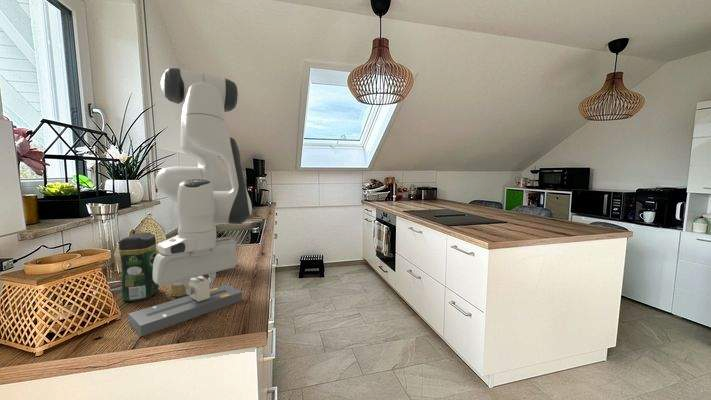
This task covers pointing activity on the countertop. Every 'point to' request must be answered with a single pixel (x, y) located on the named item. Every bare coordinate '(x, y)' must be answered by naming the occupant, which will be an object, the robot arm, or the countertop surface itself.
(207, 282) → the fader tab
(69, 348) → the countertop surface
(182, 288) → the sprinkles bottle
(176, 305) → the slider console
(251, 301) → the countertop surface
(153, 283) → the coffee jar
